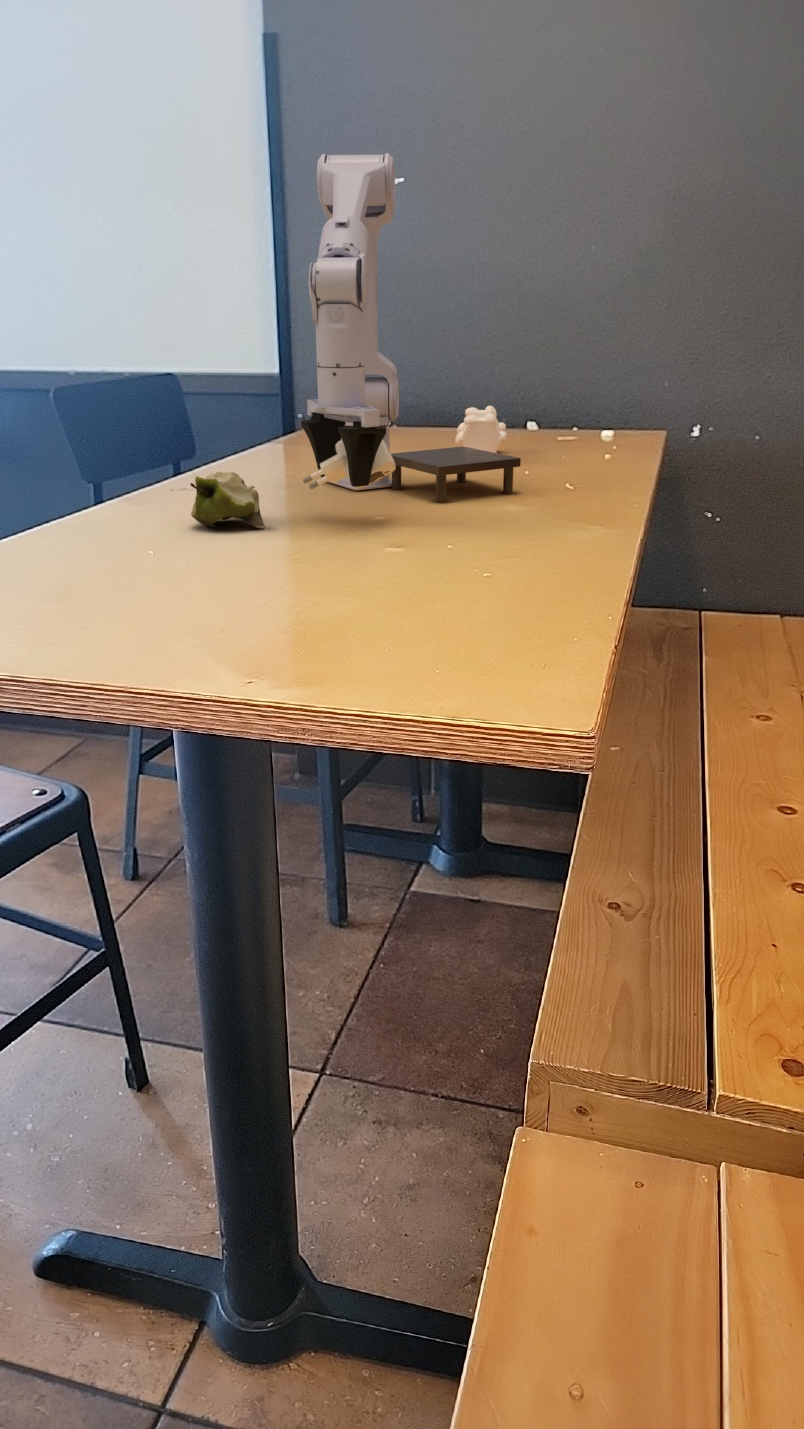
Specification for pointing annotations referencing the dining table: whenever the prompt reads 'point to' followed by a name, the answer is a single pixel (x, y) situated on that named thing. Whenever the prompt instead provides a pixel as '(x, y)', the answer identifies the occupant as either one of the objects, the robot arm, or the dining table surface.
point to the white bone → (481, 430)
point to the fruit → (225, 500)
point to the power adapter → (338, 466)
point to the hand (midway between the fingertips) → (343, 481)
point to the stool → (454, 466)
